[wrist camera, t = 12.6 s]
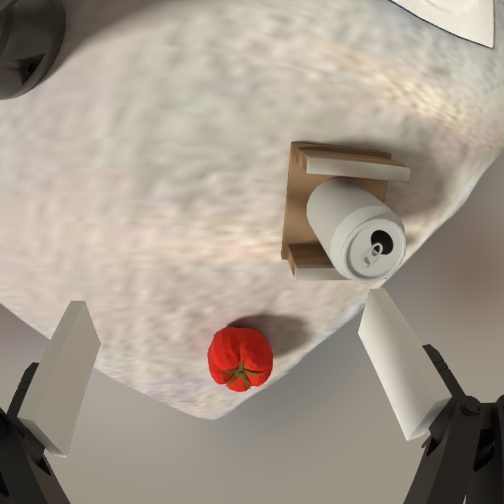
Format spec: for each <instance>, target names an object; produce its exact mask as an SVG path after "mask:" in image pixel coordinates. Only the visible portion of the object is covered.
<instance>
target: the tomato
mask: <svg viewBox="0 0 504 504" xmlns="http://www.w3.org/2000/svg"><path fill="white" fill-rule="evenodd" d="M207 356H208V364H209V371H210V373H211V375H212V378H213V379H214V380H215V382H216V383H218V384H220V385H221V384H226V386H228V388H229V389H230V390H234V391H237V392H243V391H246V390H248V389H249V388H250V387H251V386H257V387H258V386H260V385H262V384H263V383H264V382H265V381H266V380H267V379H268V377H269V376H270V374H271V371H272V367H273V354H272V351H271V348H270V345H269V343H268V341H267V339H266V338H265V337H264V336H263V335H262V334H261V333H260V332H259V331H257V330H254V329H252V328H246V327H243V328H234V327H227V328H223V329H221V330H220V331H218V332H216V334H215V335H214V338H213V341H212V343H211V345H210V347H209V349H208V354H207ZM250 389H251V388H250Z"/></svg>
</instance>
